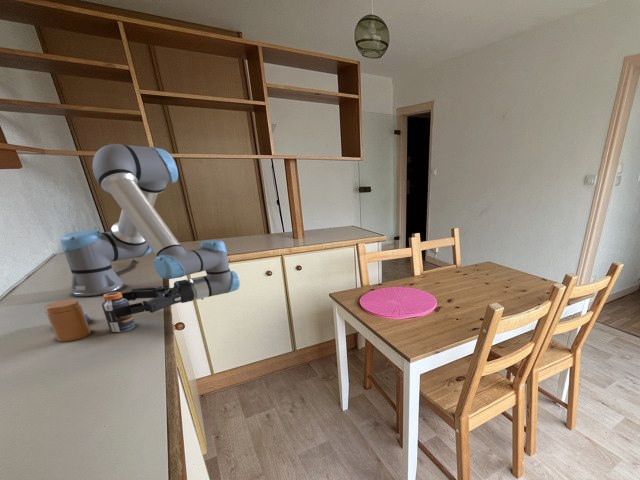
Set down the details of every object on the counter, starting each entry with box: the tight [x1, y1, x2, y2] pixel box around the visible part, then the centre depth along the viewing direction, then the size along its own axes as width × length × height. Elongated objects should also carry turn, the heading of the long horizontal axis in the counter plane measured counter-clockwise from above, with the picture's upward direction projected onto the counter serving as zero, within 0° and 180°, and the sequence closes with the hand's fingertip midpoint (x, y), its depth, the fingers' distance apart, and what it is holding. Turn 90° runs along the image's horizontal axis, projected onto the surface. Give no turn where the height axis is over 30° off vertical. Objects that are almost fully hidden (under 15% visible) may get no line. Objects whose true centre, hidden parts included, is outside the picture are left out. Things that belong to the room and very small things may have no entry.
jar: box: [44, 298, 92, 342], centre depth 89 cm, size 7×7×10 cm
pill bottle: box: [101, 291, 136, 333], centre depth 93 cm, size 6×6×11 cm
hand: (109, 306), depth 92 cm, fingers open, 13 cm apart
